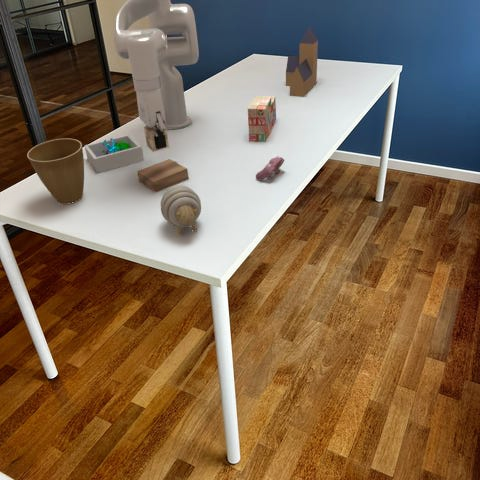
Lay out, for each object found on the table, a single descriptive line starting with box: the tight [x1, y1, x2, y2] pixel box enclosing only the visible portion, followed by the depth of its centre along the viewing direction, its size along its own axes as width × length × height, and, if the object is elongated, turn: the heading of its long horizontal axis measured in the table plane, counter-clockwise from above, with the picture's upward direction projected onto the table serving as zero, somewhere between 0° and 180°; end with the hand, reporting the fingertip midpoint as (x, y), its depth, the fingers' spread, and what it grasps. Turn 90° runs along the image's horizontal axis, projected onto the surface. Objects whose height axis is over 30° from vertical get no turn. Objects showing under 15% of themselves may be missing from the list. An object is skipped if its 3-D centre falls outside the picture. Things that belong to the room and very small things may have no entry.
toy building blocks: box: [285, 26, 319, 98], centre depth 209 cm, size 12×19×25 cm
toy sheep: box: [160, 184, 202, 236], centre depth 126 cm, size 11×17×11 cm, turn 24°
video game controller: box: [255, 155, 285, 181], centre depth 148 cm, size 10×5×7 cm, turn 149°
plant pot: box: [26, 137, 85, 205], centre depth 140 cm, size 15×15×16 cm
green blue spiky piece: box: [102, 137, 130, 155], centre depth 167 cm, size 12×7×8 cm
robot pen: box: [83, 134, 145, 174], centre depth 164 cm, size 13×16×5 cm
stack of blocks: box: [247, 95, 277, 143], centre depth 176 cm, size 21×6×12 cm, turn 167°
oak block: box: [143, 123, 170, 152], centre depth 143 cm, size 5×5×6 cm
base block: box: [136, 158, 189, 193], centre depth 150 cm, size 10×12×4 cm
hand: (157, 144), depth 144 cm, fingers closed on oak block, 5 cm apart
